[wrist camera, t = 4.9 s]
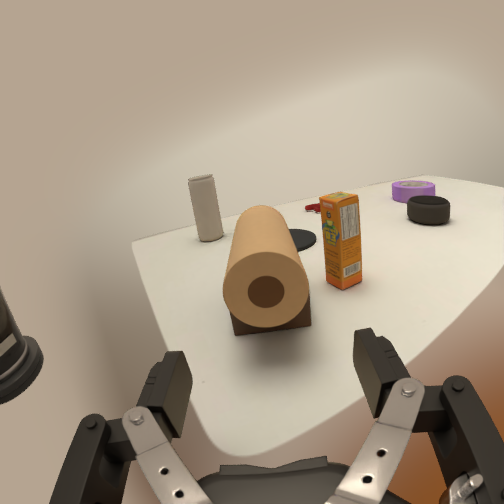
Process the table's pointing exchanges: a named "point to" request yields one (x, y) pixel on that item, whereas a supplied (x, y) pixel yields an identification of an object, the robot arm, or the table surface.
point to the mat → (302, 238)
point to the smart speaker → (428, 209)
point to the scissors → (313, 207)
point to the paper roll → (264, 270)
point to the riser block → (298, 321)
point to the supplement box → (341, 239)
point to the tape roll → (411, 189)
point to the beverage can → (205, 207)
